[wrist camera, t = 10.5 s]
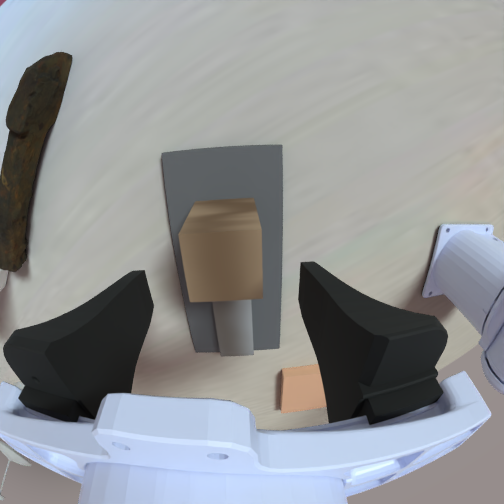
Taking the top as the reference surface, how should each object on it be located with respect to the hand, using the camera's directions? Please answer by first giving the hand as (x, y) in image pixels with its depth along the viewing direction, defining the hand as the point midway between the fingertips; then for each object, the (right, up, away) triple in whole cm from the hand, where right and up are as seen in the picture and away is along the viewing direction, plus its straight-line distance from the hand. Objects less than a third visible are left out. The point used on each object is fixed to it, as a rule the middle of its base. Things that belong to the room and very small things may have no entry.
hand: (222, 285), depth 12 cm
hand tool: (-18, +9, +4) cm, 20 cm away
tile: (+9, -11, +14) cm, 20 cm away
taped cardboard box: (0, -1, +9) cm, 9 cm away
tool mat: (0, 0, +9) cm, 9 cm away
